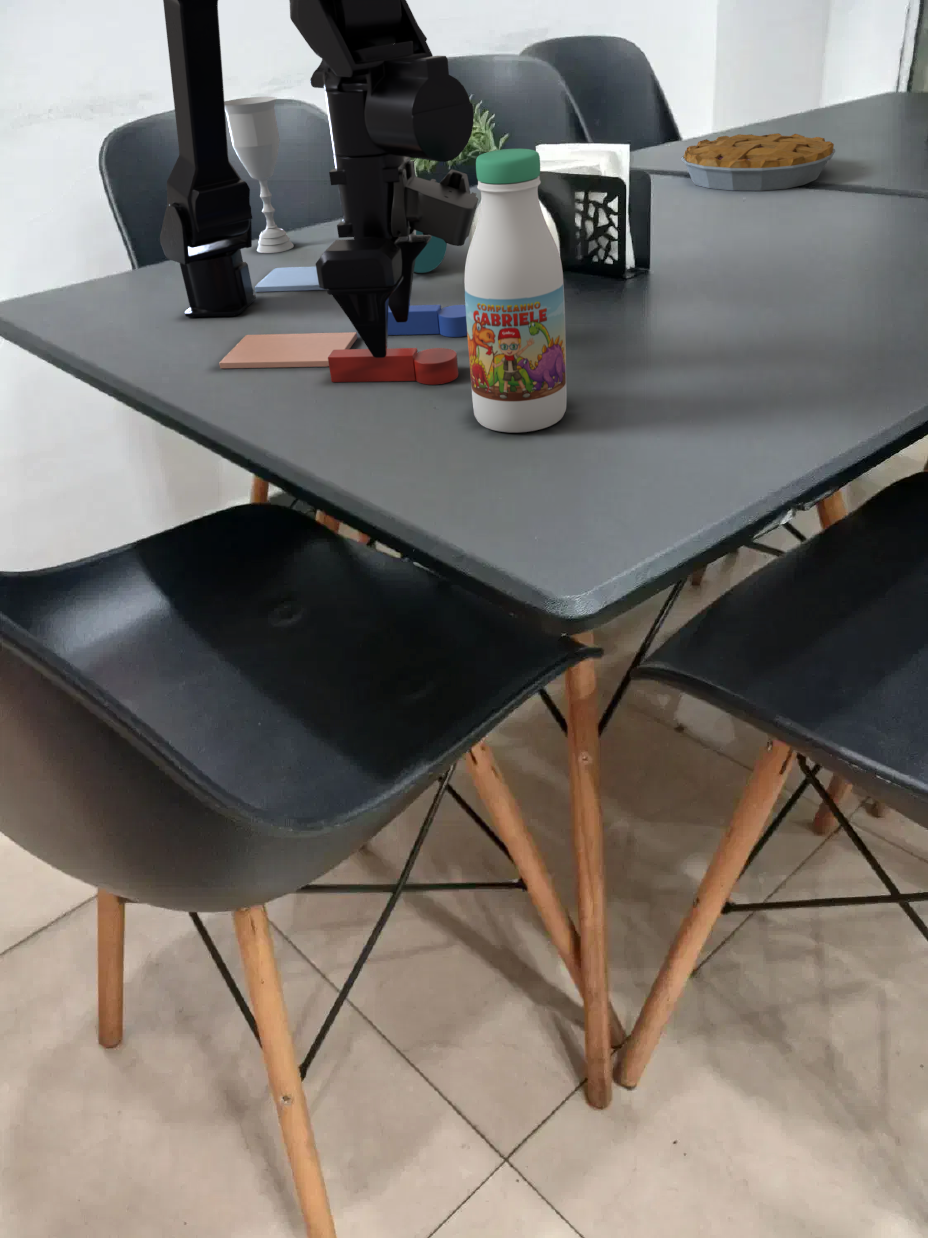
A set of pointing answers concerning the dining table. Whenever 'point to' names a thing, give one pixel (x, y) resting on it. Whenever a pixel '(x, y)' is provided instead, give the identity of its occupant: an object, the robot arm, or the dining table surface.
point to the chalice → (258, 157)
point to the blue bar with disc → (431, 321)
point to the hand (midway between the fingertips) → (391, 338)
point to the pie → (757, 161)
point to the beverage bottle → (430, 255)
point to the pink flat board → (286, 350)
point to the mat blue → (290, 280)
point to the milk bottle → (514, 300)
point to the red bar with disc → (394, 365)
